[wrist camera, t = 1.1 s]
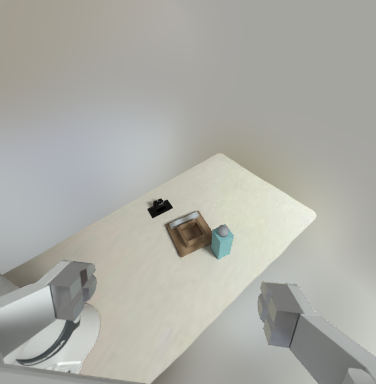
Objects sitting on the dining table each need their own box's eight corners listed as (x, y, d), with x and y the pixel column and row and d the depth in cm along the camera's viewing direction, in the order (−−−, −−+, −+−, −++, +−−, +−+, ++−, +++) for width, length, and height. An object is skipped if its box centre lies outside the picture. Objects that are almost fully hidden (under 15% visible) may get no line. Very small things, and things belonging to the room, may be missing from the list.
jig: (181, 257, 64) (180, 252, 61) (166, 226, 73) (164, 220, 70) (216, 240, 67) (217, 235, 65) (198, 212, 76) (198, 206, 74)
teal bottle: (218, 259, 63) (220, 238, 52) (211, 248, 66) (212, 226, 55) (229, 253, 64) (234, 232, 54) (222, 242, 67) (225, 220, 56)
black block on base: (169, 197, 83) (168, 190, 80) (177, 208, 79) (176, 201, 76) (143, 210, 80) (141, 203, 76) (150, 222, 75) (148, 215, 72)
